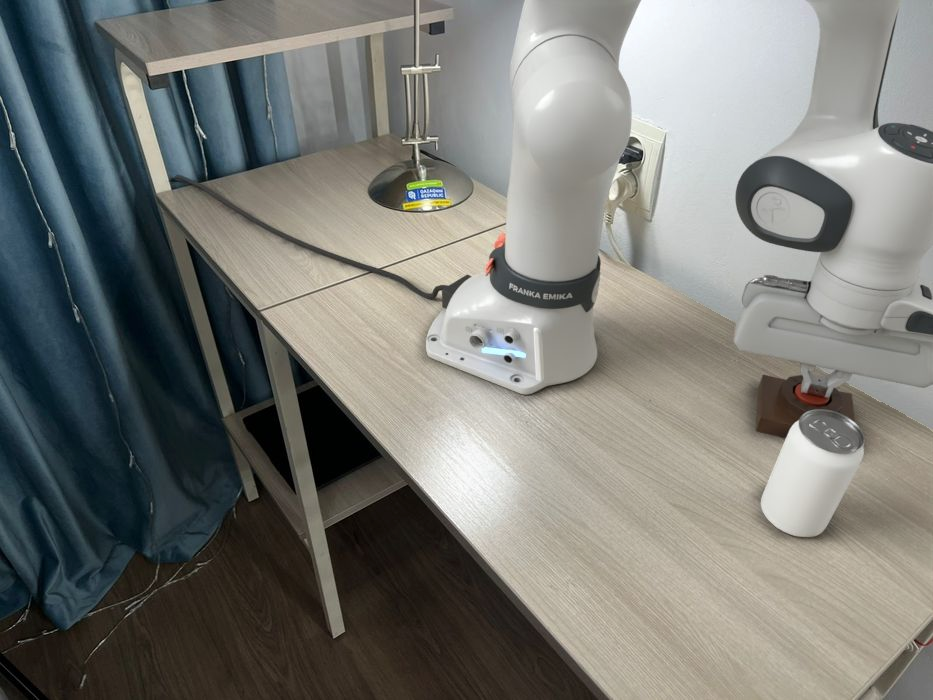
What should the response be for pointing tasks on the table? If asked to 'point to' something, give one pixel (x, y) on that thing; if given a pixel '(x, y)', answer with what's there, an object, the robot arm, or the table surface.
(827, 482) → the can
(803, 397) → the trigger button
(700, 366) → the table surface
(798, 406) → the button block
